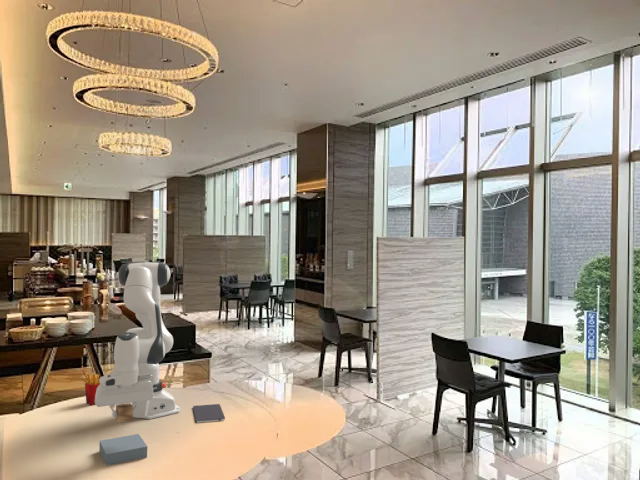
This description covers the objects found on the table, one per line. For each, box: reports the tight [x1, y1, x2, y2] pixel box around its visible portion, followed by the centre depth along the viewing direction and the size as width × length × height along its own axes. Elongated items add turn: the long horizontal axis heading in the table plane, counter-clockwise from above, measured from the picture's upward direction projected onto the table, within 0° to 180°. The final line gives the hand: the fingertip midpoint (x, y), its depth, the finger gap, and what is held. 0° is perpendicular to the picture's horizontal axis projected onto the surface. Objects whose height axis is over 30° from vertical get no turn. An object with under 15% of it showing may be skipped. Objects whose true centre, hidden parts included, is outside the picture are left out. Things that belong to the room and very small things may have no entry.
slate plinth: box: [98, 433, 148, 467], centre depth 179 cm, size 14×14×4 cm
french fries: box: [81, 372, 100, 406], centre depth 235 cm, size 9×8×15 cm
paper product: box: [192, 403, 226, 424], centre depth 225 cm, size 13×2×21 cm
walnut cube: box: [115, 403, 134, 423], centre depth 179 cm, size 5×5×5 cm
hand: (124, 414), depth 179 cm, fingers closed on walnut cube, 5 cm apart
